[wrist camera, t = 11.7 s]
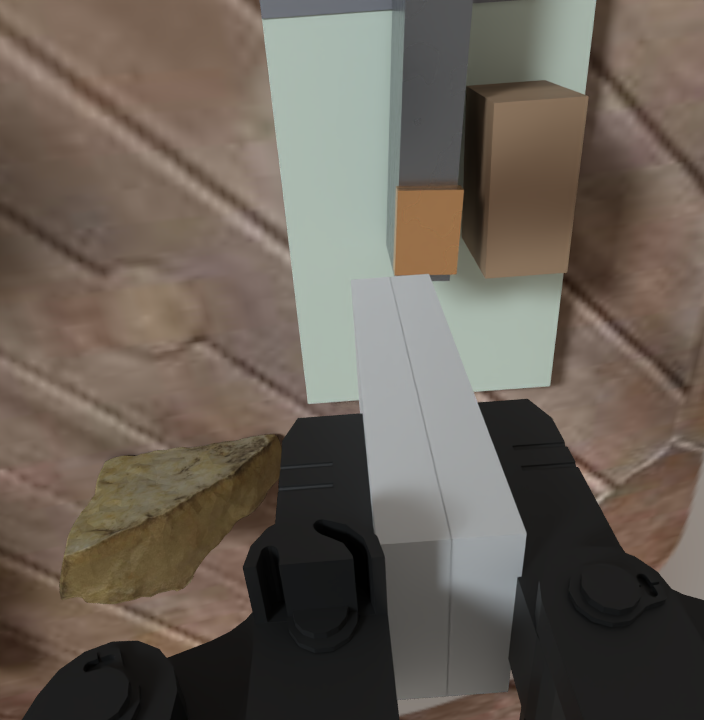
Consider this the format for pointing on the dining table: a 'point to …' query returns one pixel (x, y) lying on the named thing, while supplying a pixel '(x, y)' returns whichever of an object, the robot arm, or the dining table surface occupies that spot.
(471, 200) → the block
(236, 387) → the dining table surface
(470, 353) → the door plate
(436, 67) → the bar
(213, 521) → the rock
